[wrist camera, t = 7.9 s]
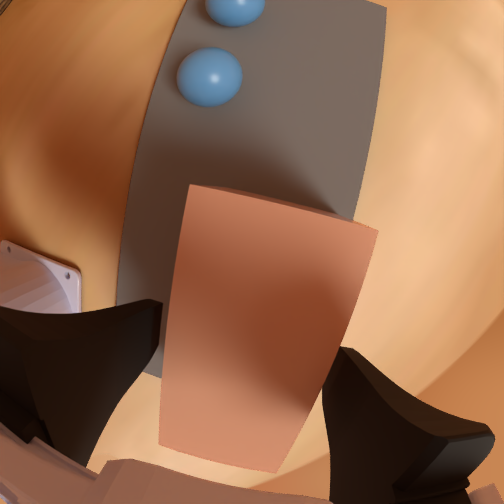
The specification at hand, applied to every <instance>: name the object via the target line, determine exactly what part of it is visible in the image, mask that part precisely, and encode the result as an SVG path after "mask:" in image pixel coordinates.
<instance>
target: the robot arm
mask: <svg viewBox="0 0 504 504" xmlns="http://www.w3.org/2000/svg"><path fill="white" fill-rule="evenodd" d="M68 273H69V274H70V277H69V275H68ZM162 310H163V303H162V302H159V301H156V300H153V299H143V300H139V301H135V302H131V303H127V304H123V305H119V306H115V307H110V308H105V309H100V310H95V311H89V312H81V274H80V272H79V271H78V270H77V269H75V268H72V267H69V266H67V265H64V264H62V263H59V262H57V261H54V260H52V259H49V258H47V257H44V256H42V255H40V254H37V253H35V252H32V251H30V250H28V249H25V248H23V247H21V246H19V245H16V244H14V243H12V242H10V241H7V240H2V241H1V243H0V498H1V499H3V500H4V501H5V502H6V503H7V504H504V502H503V500H502V498H501V496H500V494H499V492H498V490H497V488H496V487H495V484H494V483H493V484H489V485H487V486H484V487H481V488H479V489H476V490H474V491H472V492H471V493H469V494H467V492H466V490H465V488H467V487H468V486H469V485H470V482H469V480H468V478H467V477H468V476H469V475H470V474H471V473H472V472H473V471H474V470H475V469H476V468H477V467H478V466H479V465H480V464H481V463H482V462H483V460H484V459H485V458H486V457H487V455H488V454H489V453H490V451H491V449H492V448H493V445H494V442H495V436H494V434H493V433H492V431H491V430H490V428H489V427H488V426H487V425H486V424H484V423H479V422H475V421H470V420H466V419H463V418H459V417H457V416H454V415H451V414H448V413H446V412H443V411H441V410H438V409H436V408H434V407H432V406H430V405H428V404H426V403H424V402H422V401H421V400H419V399H417V398H416V397H414V396H412V395H411V394H409V393H408V392H406V391H405V390H403V389H402V388H400V387H399V386H398V385H396V384H395V383H394V382H393V381H391V380H390V379H389V378H388V377H386V376H385V375H384V374H383V373H382V372H380V371H379V370H378V369H377V368H376V367H375V366H374V365H372V364H371V363H370V362H369V361H368V360H367V359H366V358H364V357H363V356H362V355H361V354H360V353H358V352H357V351H356V350H354V349H353V348H347V347H341V346H340V347H339V349H338V352H337V354H336V357H335V359H334V361H333V364H332V366H331V368H330V371H329V373H328V375H327V377H326V380H325V382H324V384H323V386H322V405H323V412H324V418H325V424H326V429H327V435H328V441H329V448H330V469H331V472H330V497H329V501H328V500H325V499H319V498H313V497H308V496H303V495H291V494H280V493H273V492H265V491H258V490H251V489H246V488H240V487H235V486H230V485H225V484H221V483H216V482H212V481H208V480H204V479H201V478H197V477H193V476H190V475H186V474H183V473H180V472H176V471H173V470H170V469H167V468H164V467H161V466H158V465H154V464H150V463H146V462H142V461H138V460H135V459H121V460H110V461H107V463H106V464H105V466H104V467H103V469H102V471H101V472H100V474H97V473H95V472H93V471H91V470H89V469H87V468H86V466H87V464H88V461H89V459H90V457H91V454H92V452H93V450H94V448H95V446H96V443H97V441H98V439H99V437H100V435H101V433H102V431H103V429H104V427H105V426H106V424H107V422H108V420H109V418H110V416H111V415H112V413H113V411H114V409H115V408H116V406H117V404H118V403H119V401H120V400H121V398H122V397H123V395H124V394H125V393H126V392H127V390H128V389H129V388H130V387H131V385H132V384H133V383H134V381H135V380H136V379H137V378H138V376H139V375H140V374H141V372H142V371H143V370H144V369H145V367H146V366H147V365H148V363H149V362H150V360H151V358H152V357H153V355H154V353H155V351H156V349H157V347H158V346H159V338H160V328H161V319H162Z"/></svg>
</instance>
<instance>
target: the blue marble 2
mask: <svg viewBox="0 0 504 504" xmlns="http://www.w3.org/2000/svg"><path fill="white" fill-rule="evenodd" d="M242 78H243V74H242V68H241V65H240V63H239V61H238V60H237V59H236V57H235V56H234V55H233V54H231V53H230V52H228V51H226V50H224V49H222V48H217V47H205V48H201V49H198V50H195V51H194V52H192V53H190V54H189V55H188V56H187V57H185V59H184V60H183V61H182V62H181V64H180V66H179V68H178V71H177V86H178V89H179V91H180V93H181V94H182V95H183V97H184V98H185V99H186V100H188V101H189V102H190V103H192V104H194V105H197V106H201V107H215V106H219V105H222V104H224V103H226V102H228V101H229V100H231V99H232V98H233V97H234V96H235V95H236V93H237V92H238V90H239V89H240V86H241V83H242Z"/></svg>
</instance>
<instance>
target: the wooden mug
mask: <svg viewBox="0 0 504 504" xmlns="http://www.w3.org/2000/svg"><path fill="white" fill-rule="evenodd" d="M10 2H11V0H0V15H1V14H2V12H3V11H4V10H5V8H6V7H7V6H8V5H9V3H10Z"/></svg>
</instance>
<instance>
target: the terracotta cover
mask: <svg viewBox="0 0 504 504" xmlns="http://www.w3.org/2000/svg"><path fill="white" fill-rule="evenodd" d="M377 235H378V230H376V229H373V228H371V227H369V226H366V225H364V224H361V223H359V222H356V221H354V220H351V219H348V218H346V217H343V216H341V215H338V214H335V213H331V212H327V211H323V210H320V209H316V208H312V207H308V206H304V205H300V204H296V203H292V202H288V201H284V200H280V199H276V198H272V197H268V196H263V195H259V194H255V193H250V192H246V191H241V190H237V189H232V188H227V187H217V186H206V185H194V184H190V186H189V190H188V195H187V200H186V205H185V210H184V216H183V221H182V227H181V232H180V238H179V244H178V250H177V256H176V262H175V268H174V275H173V282H172V289H171V296H170V304H169V312H168V320H167V329H166V338H165V348H164V359H163V370H162V384H161V399H160V418H159V445H161V446H164V447H167V448H170V449H173V450H176V451H179V452H182V453H185V454H189V455H192V456H196V457H199V458H203V459H206V460H210V461H214V462H218V463H222V464H227V465H231V466H236V467H241V468H246V469H251V470H257V471H263V472H269V473H277V471H278V470H279V468H280V466H281V465H282V463H283V461H284V460H285V458H286V456H287V454H288V453H289V451H290V449H291V447H292V445H293V444H294V442H295V440H296V438H297V436H298V434H299V433H300V431H301V429H302V427H303V425H304V423H305V421H306V419H307V417H308V415H309V413H310V411H311V409H312V407H313V405H314V403H315V401H316V399H317V397H318V395H319V393H320V390H321V388H322V386H323V384H324V382H325V380H326V377H327V375H328V373H329V371H330V368H331V366H332V364H333V361H334V359H335V357H336V354H337V352H338V349H339V347H340V344H341V342H342V339H343V337H344V334H345V332H346V329H347V327H348V324H349V321H350V319H351V316H352V313H353V310H354V308H355V305H356V302H357V299H358V296H359V293H360V290H361V287H362V284H363V281H364V278H365V275H366V272H367V269H368V266H369V262H370V259H371V256H372V252H373V249H374V245H375V242H376V238H377Z"/></svg>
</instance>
